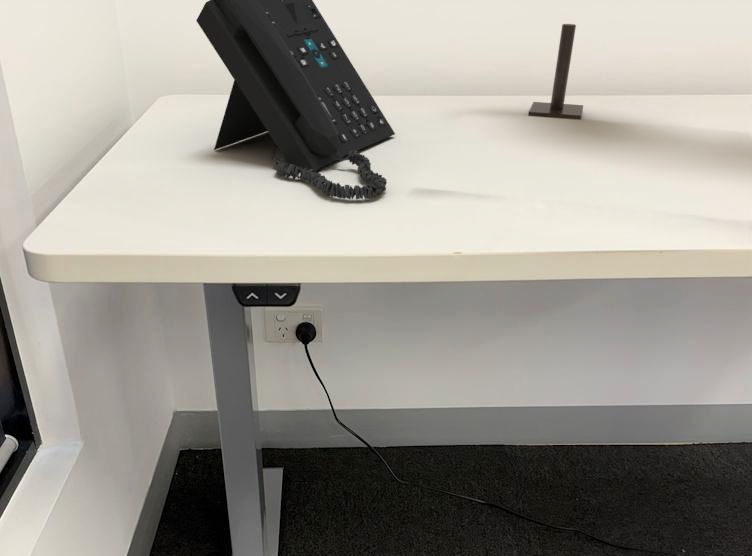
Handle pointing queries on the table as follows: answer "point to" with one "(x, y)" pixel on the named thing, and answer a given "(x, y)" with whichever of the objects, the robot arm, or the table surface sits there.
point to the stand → (560, 83)
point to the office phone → (294, 90)
